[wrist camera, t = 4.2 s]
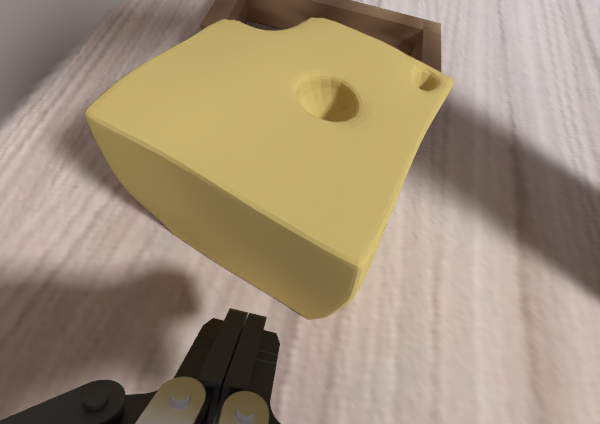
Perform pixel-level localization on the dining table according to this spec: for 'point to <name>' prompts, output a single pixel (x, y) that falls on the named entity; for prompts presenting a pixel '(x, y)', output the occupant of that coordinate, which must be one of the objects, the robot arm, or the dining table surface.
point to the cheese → (273, 150)
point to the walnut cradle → (340, 8)
